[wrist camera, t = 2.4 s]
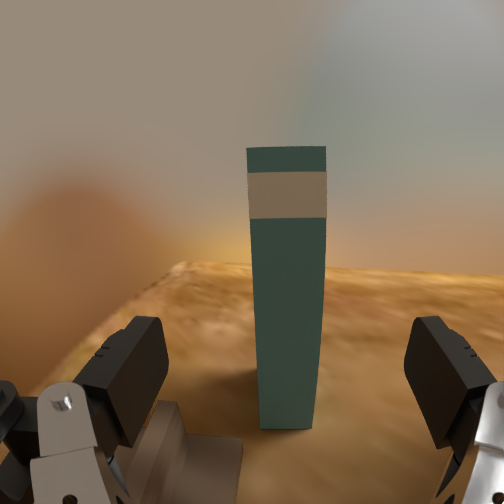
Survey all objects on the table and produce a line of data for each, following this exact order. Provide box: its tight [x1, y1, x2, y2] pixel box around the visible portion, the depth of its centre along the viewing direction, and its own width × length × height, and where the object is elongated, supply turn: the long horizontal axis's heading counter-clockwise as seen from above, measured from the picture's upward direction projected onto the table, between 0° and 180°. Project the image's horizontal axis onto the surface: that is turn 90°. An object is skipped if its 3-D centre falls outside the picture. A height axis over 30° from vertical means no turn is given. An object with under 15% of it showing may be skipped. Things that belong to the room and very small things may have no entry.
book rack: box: [33, 400, 243, 504], centre depth 13 cm, size 14×16×6 cm
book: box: [246, 146, 327, 429], centre depth 22 cm, size 8×4×20 cm, turn 175°
